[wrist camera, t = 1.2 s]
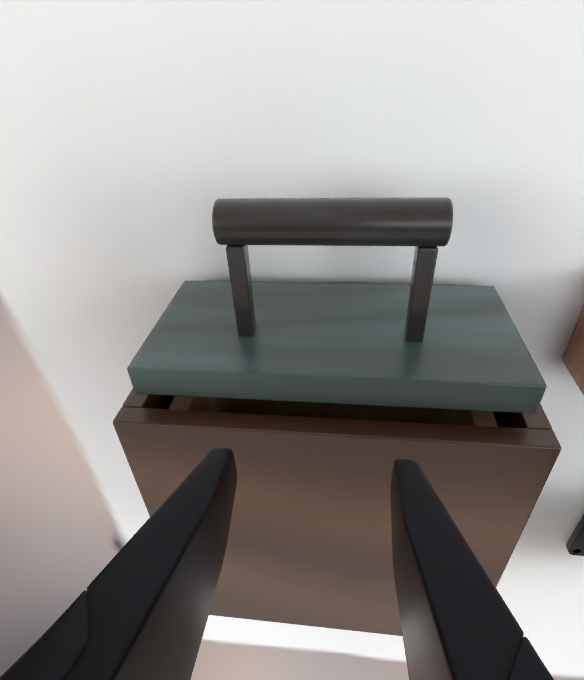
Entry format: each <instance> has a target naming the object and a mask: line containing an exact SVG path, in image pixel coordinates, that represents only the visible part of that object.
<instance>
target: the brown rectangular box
mask: <svg viewBox="0 0 584 680" xmlns="http://www.w3.org/2000/svg"><path fill="white" fill-rule="evenodd" d="M563 363H564V364H565V366H566V367H567V369H568V371H569V372H570V374H571V376H572V377H573V379H574V380H575V382H576V384H577V385H578V387H579V388H580V390H581V392H582V393H583V395H584V308H583V311H582V313H581V315H580V318H579V320H578V323H577V325H576V328H575V330H574V333H573V335H572V338H571V340H570V343H569V345H568V348H567V350H566V353H565V355H564V358H563Z"/></svg>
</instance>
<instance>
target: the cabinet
mask: <svg viewBox="0 0 584 680" xmlns="http://www.w3.org/2000/svg"><path fill="white" fill-rule="evenodd" d="M174 397H175V396H173V395H153V394H137V393H135V391H134V388H133V389H132V391H131V392H130V394H129V396H128V397H127V399H126V401H125V402H124V404H123V407H122V408H121V409H120V411H119V412H118V414H117V416H116V417H115V419H114V421H113V425H114V427H115V430H116V432H117V435H118V437H119V440H120V442H121V445H122V447H123V450H124V452H125V455H126V457H127V460H128V462H129V465H130V467H131V470H132V472H133V475H134V477H135V480H136V482H137V485H138V488H139V490H140V493H141V495H142V498H143V500H144V503H145V505H146V508H147V510H148V513H149V515H150V517H151V516H152V515H153V514H154V513H155V511H156V510H157V509H158V508H159V507H160V506H161V505H162V504H163V503H164V501H165V500H166V499H167V498H168V497H169V496H170V495H171V494H172V493H173V491H174V490H175V489H176V488H177V487H178V486H179V485H180V484H181V483H182V481H183V480H184V479H185V478H186V477H187V476H188V475H189V474H190V473H191V471H192V470H193V469H194V468H195V467H196V466H197V465H198V464H199V463H200V461H201V460H202V459H203V458H204V457H205V456H206V455H207V454H208V453H209V451H210V450H212V449H213V448H229V449H231V450H232V451H233V454H234V459H235V464H236V470H237V485H236V491H235V498H234V504H233V510H232V516H231V522H230V528H229V534H228V541H227V546H226V551H225V556H224V560H223V564H222V568H221V572H220V575H219V579H218V582H217V586H216V589H215V593H214V597H213V600H212V604H211V607H210V611H209V615H216V616H225V617H234V618H244V619H253V620H262V621H271V622H280V623H289V624H298V625H307V626H316V627H325V628H335V629H344V630H353V631H362V632H371V633H380V634H389V635H398V636H403V634H402V627H401V620H400V614H399V607H398V600H397V593H396V587H395V579H394V571H393V557H392V527H391V496H390V489H391V479H392V472H393V465H394V461H395V460H396V459H407V460H414V461H416V462H417V464H418V465H419V467H420V468H421V470H422V471H423V473H424V474H425V476H426V478H427V479H428V481H429V482H430V484H431V486H432V487H433V489H434V490H435V492H436V494H437V495H438V497H439V498H440V500H441V502H442V503H443V505H444V506H445V508H446V510H447V511H448V513H449V514H450V516H451V518H452V519H453V521H454V522H455V524H456V526H457V527H458V529H459V530H460V532H461V534H462V535H463V537H464V538H465V540H466V541H467V543H468V545H469V546H470V548H471V549H472V551H473V553H474V554H475V556H476V557H477V559H478V561H479V562H480V564H481V565H482V567H483V569H484V570H485V572H486V573H487V575H488V577H489V578H490V580H491V581H492V583H493V585H494V586H495V588H496V586H497V584H498V582H499V580H500V578H501V575H502V573H503V571H504V569H505V567H506V565H507V563H508V561H509V559H510V556H511V554H512V552H513V550H514V548H515V546H516V544H517V542H518V540H519V537H520V535H521V533H522V531H523V529H524V527H525V525H526V523H527V520H528V518H529V516H530V514H531V512H532V510H533V508H534V506H535V504H536V501H537V499H538V497H539V495H540V493H541V491H542V489H543V487H544V485H545V482H546V480H547V478H548V476H549V474H550V472H551V470H552V468H553V465H554V463H555V461H556V459H557V457H558V455H559V453H560V451H561V446H560V444H559V442H558V440H557V438H556V436H555V434H554V432H553V431H552V427H551V425H550V423H549V421H548V419H547V417H546V415H545V413H544V411H543V409H542V407H541V405H539V407H538V410H537V412H536V413H516V412H496V411H493V414H494V417H495V420H496V422H497V425H498V427H488V426H469V425H451V424H432V423H413V422H395V421H376V420H357V419H339V418H320V417H301V416H283V415H264V414H246V413H227V412H208V411H190V410H171V409H169V407H170V405H171V403H172V401H173V399H174Z"/></svg>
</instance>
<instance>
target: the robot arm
mask: <svg viewBox="0 0 584 680" xmlns="http://www.w3.org/2000/svg"><path fill="white" fill-rule="evenodd" d="M236 485H237V470H236V464H235V459H234V454H233V451H232V450H231V449H229V448H213V449H212V450H210V451H209V453H208V454H207V455H206V456H205V457H204V458H203V459H202V460H201V461H200V463H199V464H198V465H197V466H196V467H195V468H194V469H193V470H192V471H191V473H190V474H189V475H188V476H187V477H186V478H185V479H184V480H183V481H182V483H181V484H180V485H179V486H178V487H177V488H176V489H175V490H174V491H173V493H172V494H171V495H170V496H169V497H168V498H167V499H166V500H165V501H164V503H163V504H162V505H161V506H160V507H159V508H158V509H157V510H156V511H155V513H154V514H153V515H152V516H151V517H150V518H149V519H148V520H147V521H146V523H145V524H144V525H143V526H142V527H141V528H140V529H139V530H138V531H137V533H136V534H135V535H134V536H133V537H132V538H131V539H130V540H129V541H128V543H127V544H126V545H125V546H124V547H123V548H122V549H121V550H120V551H119V552H118V554H117V555H116V556H115V557H114V558H113V559H112V560H111V561H110V562H109V564H108V565H107V566H106V567H105V568H104V569H103V570H102V572H100V574H99V575H98V576H97V577H96V578H95V579H94V580H93V581H92V582H91V584H90V585H89V586H88V587H87V591H83V592H82V593H81V594H80V596H79V597H78V598H77V599H76V600H75V601H74V602H73V603H72V604H71V606H70V607H69V608H68V609H67V610H66V611H65V612H64V613H63V614H62V615H61V617H59V618H58V620H57V621H56V622H55V623H54V624H53V625H52V626H51V627H50V628H49V629H48V630H47V631H46V632H45V633H44V634H43V636H42V637H41V638H40V639H39V640H38V641H37V642H36V643H34V644H33V646H31V647H30V648H29V649H28V650H27V651H26V652H25V653H24V654H23V655H22V656H21V657H20V658H19V659H18V660H17V661H16V662H15V663H14V664H13V665H12V666H11V667H10V668H9V669H8V670H7V671H6V672H5V673H4V674H3V675H2V676H1V677H0V680H190V679H191V675H192V672H193V668H194V665H195V661H196V658H197V654H198V650H199V647H200V643H201V640H202V636H203V632H204V629H205V625H206V622H207V618H208V615H209V611H210V607H211V604H212V600H213V597H214V593H215V589H216V586H217V582H218V579H219V575H220V572H221V568H222V564H223V560H224V556H225V551H226V546H227V541H228V534H229V528H230V522H231V516H232V510H233V504H234V498H235V491H236ZM390 496H391V527H392V557H393V571H394V579H395V587H396V593H397V600H398V607H399V614H400V620H401V627H402V634H403V641H404V647H405V654H406V661H407V668H408V674H409V680H554V679H553V678H552V676H551V675H550V673H549V672H548V670H547V668H546V667H545V665H544V664H543V662H542V661H541V659H540V658H539V656H538V654H537V653H536V651H535V650H534V648H533V646H532V645H531V643H530V642H529V640H528V639H527V638H526V637H523V631H522V629H521V628H520V626H519V624H518V623H517V621H516V620H515V618H514V616H513V615H512V613H511V612H510V610H509V608H508V607H507V605H506V604H505V602H504V600H503V599H502V597H501V596H500V594H499V593H498V591H497V589H496V588H495V586H494V585H493V583H492V581H491V580H490V578H489V577H488V575H487V573H486V572H485V570H484V569H483V567H482V565H481V564H480V562H479V561H478V559H477V557H476V556H475V554H474V553H473V551H472V549H471V548H470V546H469V545H468V543H467V541H466V540H465V538H464V537H463V535H462V534H461V532H460V530H459V529H458V527H457V526H456V524H455V522H454V521H453V519H452V518H451V516H450V514H449V513H448V511H447V510H446V508H445V506H444V505H443V503H442V502H441V500H440V498H439V497H438V495H437V494H436V492H435V490H434V489H433V487H432V486H431V484H430V482H429V481H428V479H427V478H426V476H425V474H424V473H423V471H422V470H421V468H420V467H419V465H418V464H417V462H416V461H414V460H407V459H396V460H395V461H394V465H393V472H392V479H391V489H390ZM566 547H567V550H568V552H569V554H571V555H579V556H584V516H583V518H582V519H581V521H580V523H579V524H578V526H577V528H576V529H575V531H574V533H573V534H572V536H571V538H570V539H569V541H568V543H567V544H566Z"/></svg>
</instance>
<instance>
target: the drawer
mask: <svg viewBox="0 0 584 680" xmlns="http://www.w3.org/2000/svg"><path fill="white" fill-rule="evenodd" d="M452 223H453V206H452V201H451V199H450V198H264V199H217V200H216V201H215V203H214V207H213V213H212V224H213V232H214V236H215V239H216V241H217V243H218V244H220V245H227V246H226V252H227V259H228V267H229V274H230V281H184V283H183V284H182V286H181V287H180V289H179V290H178V292H177V293H176V295H175V296H174V298H173V299H172V301H171V302H170V304H169V305H168V307H167V308H166V310H165V311H164V313H163V314H162V316H161V318H160V319H159V321H158V322H157V324H156V325H155V327H154V328H153V330H152V331H151V333H150V334H149V336H148V337H147V339H146V340H145V342H144V343H143V345H142V346H141V348H140V349H139V351H138V352H137V354H136V355H135V357H134V358H133V360H132V361H131V363H130V364H129V366H128V368H127V370H128V373H129V376H130V379H131V382H132V385H133V388H134V391H135V393H137V394H153V395H173V396H175V397H174V399H173V401H172V403H171V405H170V407H169V409H171V410H190V411H208V412H227V413H246V414H264V415H283V416H301V417H320V418H339V419H357V420H376V421H395V422H413V423H432V424H451V425H469V426H488V427H498V425H497V422H496V420H495V417H494V414H493V411H496V412H516V413H536V412H537V410H538V407H539V405H540V402H541V400H542V397H543V395H544V392H545V389H546V384H545V382H544V380H543V378H542V376H541V374H540V372H539V370H538V369H537V367H536V365H535V363H534V361H533V359H532V357H531V355H530V354H529V352H528V350H527V348H526V346H525V344H524V342H523V340H522V339H521V337H520V335H519V333H518V331H517V329H516V327H515V325H514V323H513V322H512V320H511V318H510V316H509V314H508V312H507V310H506V308H505V307H504V305H503V303H502V301H501V299H500V297H499V295H498V293H497V291H496V290H495V288H494V286H461V285H432V283H433V277H434V271H435V265H436V259H437V253H438V248H437V246H446V245H447V243H448V241H449V238H450V235H451V230H452ZM247 245H323V246H416V247H415V255H414V263H413V270H412V278H411V285H403V284H346V283H288V282H251V275H250V266H249V256H248V247H247Z"/></svg>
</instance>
